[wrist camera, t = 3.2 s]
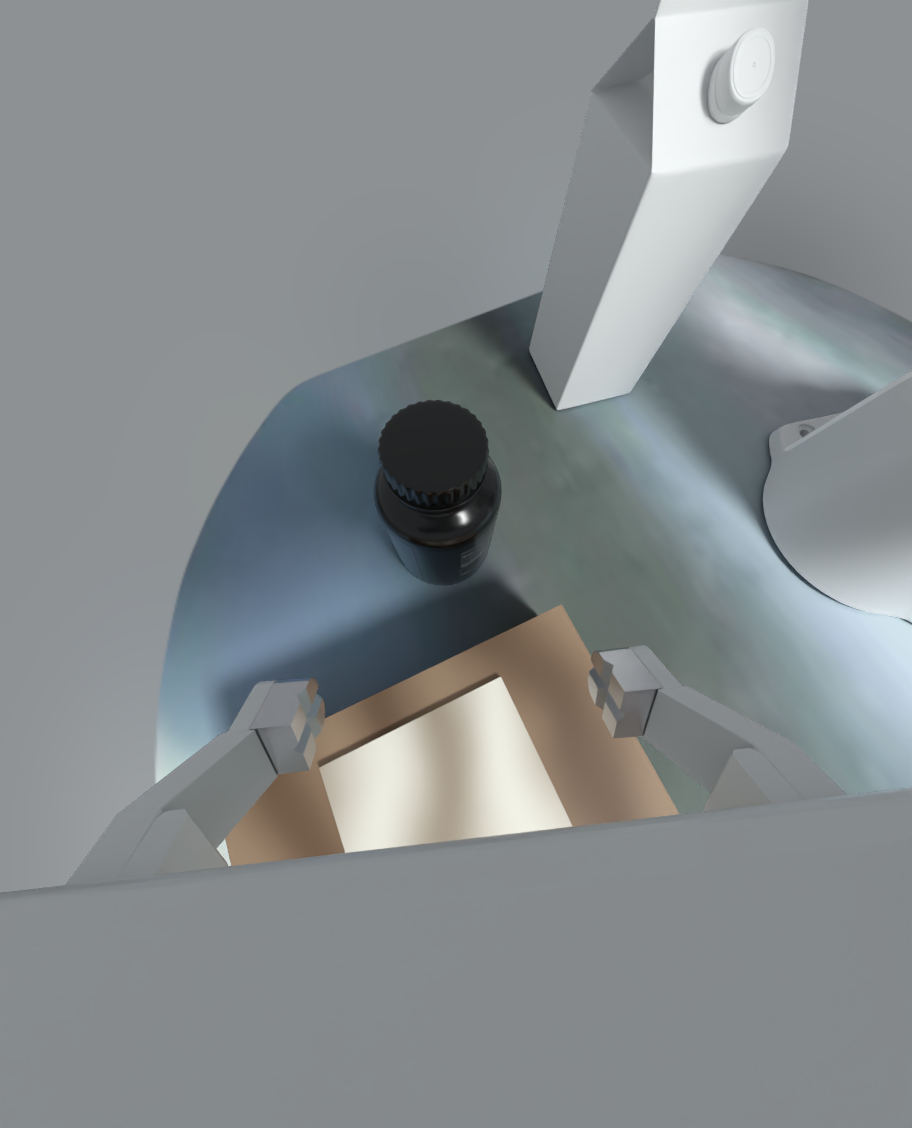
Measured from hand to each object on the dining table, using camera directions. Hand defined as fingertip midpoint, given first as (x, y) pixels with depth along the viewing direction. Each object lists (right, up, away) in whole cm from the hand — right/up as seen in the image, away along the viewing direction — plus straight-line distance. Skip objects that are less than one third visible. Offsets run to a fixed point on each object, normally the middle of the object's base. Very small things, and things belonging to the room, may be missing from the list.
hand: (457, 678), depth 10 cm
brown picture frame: (0, -11, +11) cm, 15 cm away
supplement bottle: (-1, +5, +16) cm, 17 cm away
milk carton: (+11, +21, +21) cm, 32 cm away
